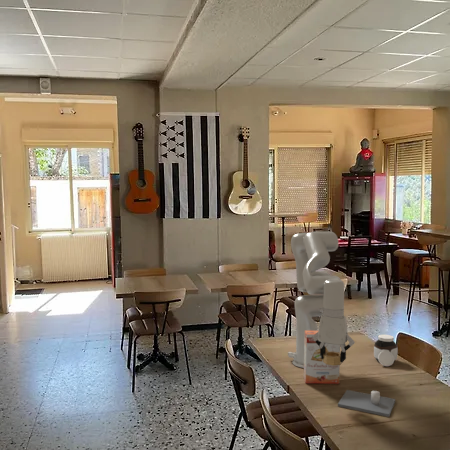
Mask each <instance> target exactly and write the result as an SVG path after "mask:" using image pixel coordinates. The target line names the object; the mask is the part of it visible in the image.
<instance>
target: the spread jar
mask: <svg viewBox="0 0 450 450" xmlns="http://www.w3.org/2000/svg"><path fill="white" fill-rule="evenodd" d="M394 339H395V337H394V336H393V335H390V334H379V335H378V336H377V340H376V341H375V342H374V345H373V356H374V358H375V360H376V361H377V362H379V363H380V365H382V366H383V367H390V366H392V365H393V364H394V362H396V360H397V359H398V351H399V349H398V344H397V343H396V342H395V341H394Z"/></svg>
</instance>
